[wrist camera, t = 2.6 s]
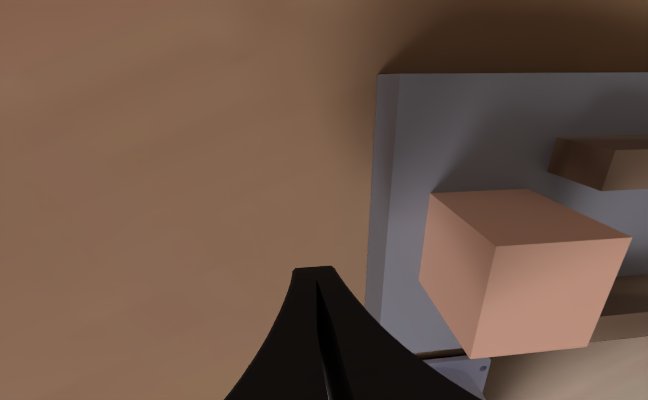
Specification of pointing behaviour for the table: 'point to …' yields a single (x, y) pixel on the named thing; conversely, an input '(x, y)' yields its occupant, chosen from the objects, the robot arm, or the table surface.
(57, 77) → the table surface
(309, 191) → the table surface
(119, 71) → the table surface
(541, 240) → the terracotta block
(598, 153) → the tunnel walls
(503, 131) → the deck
